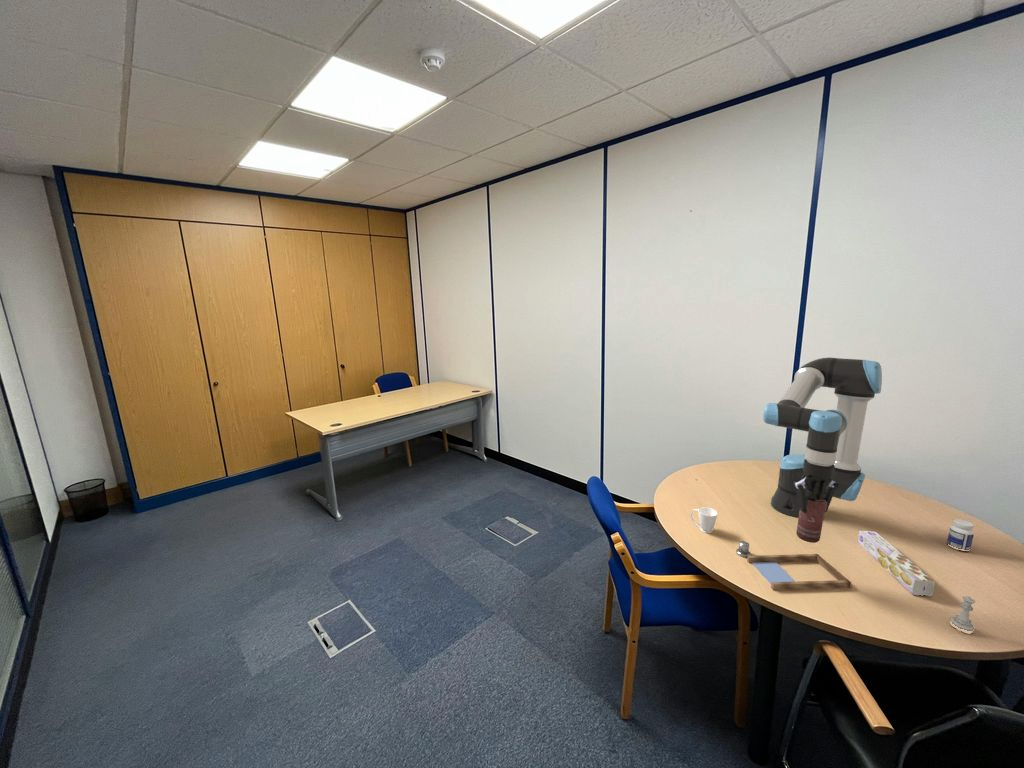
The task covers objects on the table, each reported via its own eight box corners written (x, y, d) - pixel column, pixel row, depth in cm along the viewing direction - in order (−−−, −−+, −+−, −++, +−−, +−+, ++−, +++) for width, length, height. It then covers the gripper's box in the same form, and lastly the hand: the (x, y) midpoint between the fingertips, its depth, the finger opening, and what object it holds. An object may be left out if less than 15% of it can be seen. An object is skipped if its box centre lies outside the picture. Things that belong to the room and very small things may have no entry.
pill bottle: (962, 544, 145) (968, 519, 142) (974, 554, 139) (980, 528, 137) (942, 541, 146) (947, 516, 144) (952, 551, 141) (958, 525, 139)
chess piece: (974, 637, 107) (983, 605, 104) (950, 628, 110) (958, 597, 107) (972, 627, 110) (980, 595, 108) (948, 619, 113) (956, 588, 111)
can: (821, 545, 125) (828, 504, 122) (796, 539, 128) (803, 499, 125) (819, 535, 130) (826, 495, 127) (795, 530, 133) (801, 491, 130)
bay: (816, 559, 139) (817, 553, 138) (850, 587, 125) (851, 582, 125) (747, 561, 139) (747, 555, 138) (772, 590, 125) (773, 584, 125)
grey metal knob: (745, 549, 145) (747, 539, 144) (753, 557, 141) (754, 547, 140) (733, 549, 145) (734, 540, 144) (740, 557, 141) (741, 547, 140)
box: (856, 542, 148) (859, 528, 146) (873, 544, 146) (876, 530, 145) (912, 596, 121) (915, 580, 120) (933, 599, 120) (936, 582, 119)
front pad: (775, 562, 138) (775, 561, 137) (798, 586, 127) (798, 584, 127) (752, 563, 138) (752, 562, 137) (773, 586, 127) (773, 585, 127)
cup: (711, 537, 152) (713, 518, 151) (685, 526, 160) (687, 508, 158) (719, 530, 157) (721, 511, 155) (694, 520, 164) (695, 502, 163)
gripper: (831, 456, 127) (820, 523, 132) (789, 457, 127) (780, 525, 132) (851, 465, 120) (839, 537, 125) (806, 467, 120) (796, 538, 125)
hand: (809, 530), depth 128 cm, fingers closed
